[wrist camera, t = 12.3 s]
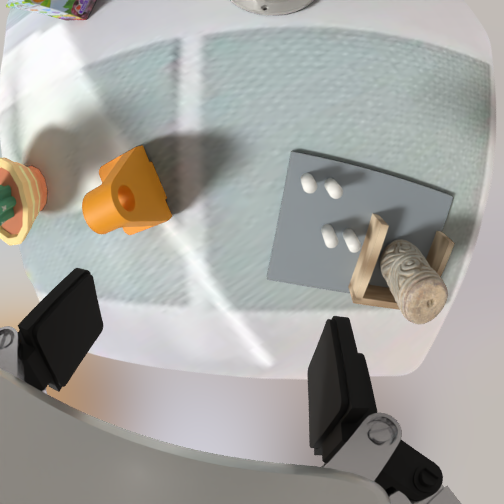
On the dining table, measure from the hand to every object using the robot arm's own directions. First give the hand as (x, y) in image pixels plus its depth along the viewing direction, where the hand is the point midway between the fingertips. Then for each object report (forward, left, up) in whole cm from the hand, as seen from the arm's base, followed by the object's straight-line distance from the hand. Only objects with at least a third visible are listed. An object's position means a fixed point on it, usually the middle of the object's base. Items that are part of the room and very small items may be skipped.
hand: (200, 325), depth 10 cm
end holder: (+7, +21, -27) cm, 35 cm away
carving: (+7, +21, -27) cm, 35 cm away
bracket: (+4, -17, -28) cm, 33 cm away
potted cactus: (+6, -41, -28) cm, 50 cm away
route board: (+5, +15, -28) cm, 32 cm away
